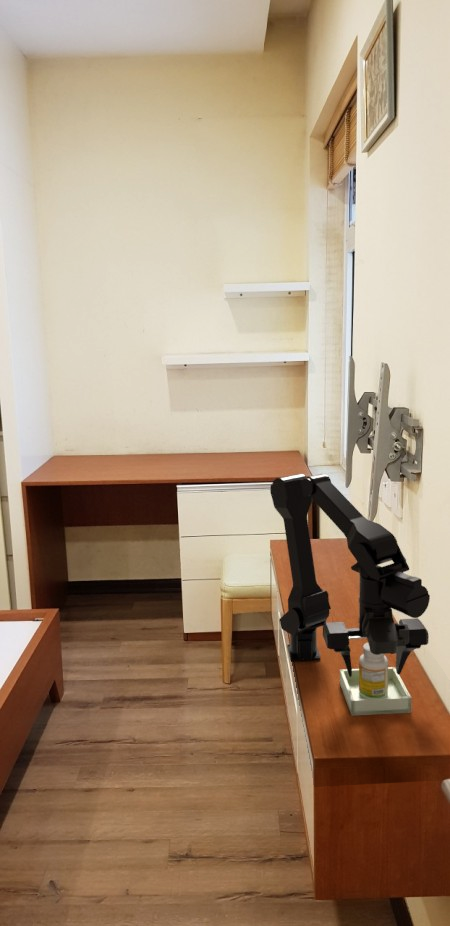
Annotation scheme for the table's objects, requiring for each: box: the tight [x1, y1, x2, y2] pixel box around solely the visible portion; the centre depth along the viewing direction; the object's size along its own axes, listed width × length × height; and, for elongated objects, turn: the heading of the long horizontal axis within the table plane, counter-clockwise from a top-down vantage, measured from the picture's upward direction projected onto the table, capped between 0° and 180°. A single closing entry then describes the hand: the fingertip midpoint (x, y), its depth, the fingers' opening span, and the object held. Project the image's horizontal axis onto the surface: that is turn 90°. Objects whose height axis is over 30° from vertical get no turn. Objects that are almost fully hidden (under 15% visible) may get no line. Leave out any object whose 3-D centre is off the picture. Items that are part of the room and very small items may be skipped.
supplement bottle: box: [358, 642, 389, 698], centre depth 126 cm, size 5×5×10 cm
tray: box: [339, 666, 412, 717], centre depth 127 cm, size 11×11×3 cm
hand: (374, 674), depth 126 cm, fingers open, 9 cm apart
